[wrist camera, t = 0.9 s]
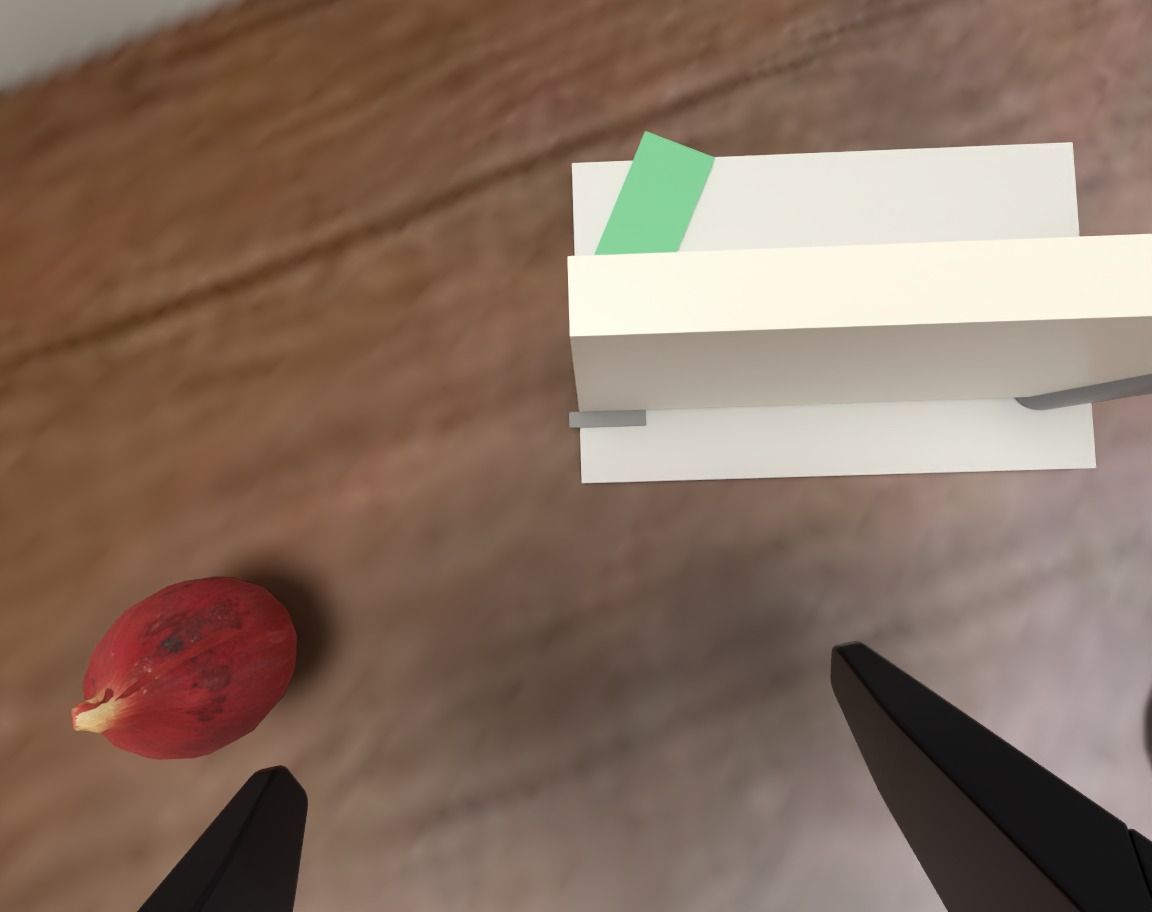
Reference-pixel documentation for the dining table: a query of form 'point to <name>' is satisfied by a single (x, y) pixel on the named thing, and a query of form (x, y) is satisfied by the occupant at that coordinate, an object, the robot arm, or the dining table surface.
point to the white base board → (815, 219)
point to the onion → (189, 669)
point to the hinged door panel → (865, 324)
